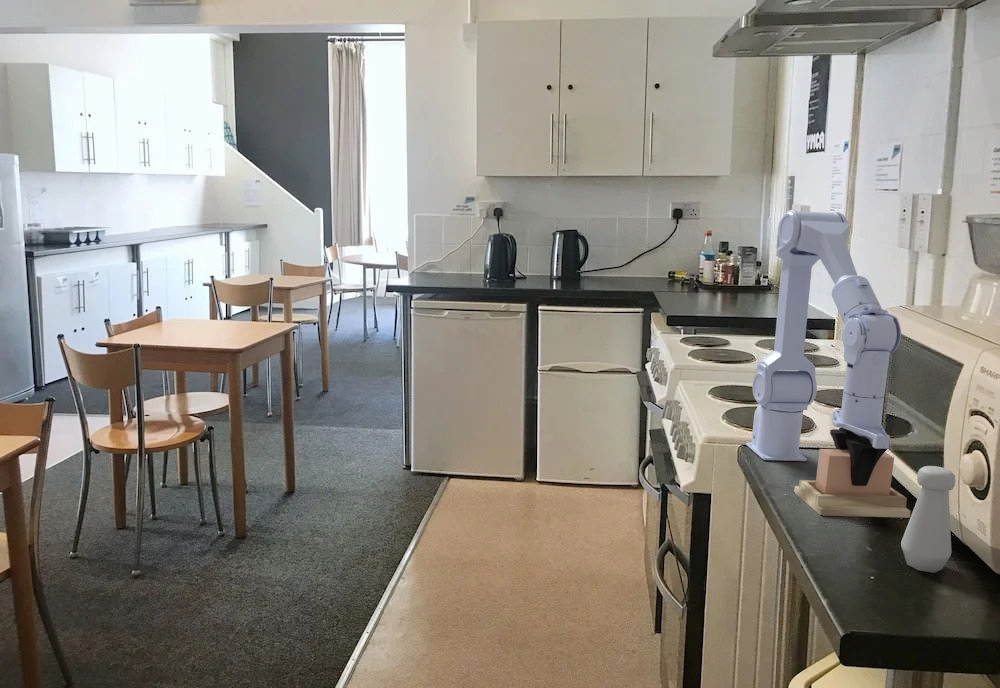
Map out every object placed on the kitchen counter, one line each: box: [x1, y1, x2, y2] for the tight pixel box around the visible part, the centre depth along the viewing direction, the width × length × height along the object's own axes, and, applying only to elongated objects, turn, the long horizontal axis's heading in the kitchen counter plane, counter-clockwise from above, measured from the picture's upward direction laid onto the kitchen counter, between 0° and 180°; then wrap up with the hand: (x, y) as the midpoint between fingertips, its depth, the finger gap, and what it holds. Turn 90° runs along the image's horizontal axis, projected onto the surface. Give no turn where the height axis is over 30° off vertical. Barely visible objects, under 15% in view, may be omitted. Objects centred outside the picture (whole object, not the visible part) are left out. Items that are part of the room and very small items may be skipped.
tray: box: [793, 479, 912, 519], centre depth 134 cm, size 10×14×2 cm
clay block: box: [815, 448, 895, 496], centre depth 134 cm, size 4×10×6 cm, turn 93°
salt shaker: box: [900, 465, 956, 574], centre depth 112 cm, size 6×6×13 cm
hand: (852, 480), depth 134 cm, fingers closed on clay block, 3 cm apart
